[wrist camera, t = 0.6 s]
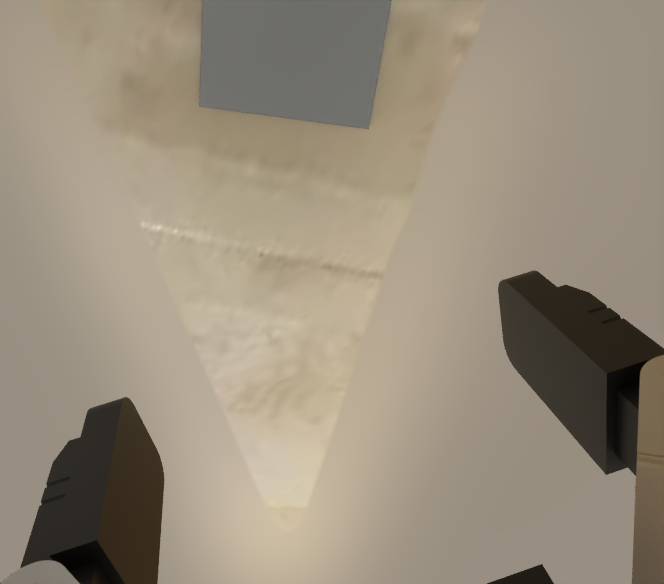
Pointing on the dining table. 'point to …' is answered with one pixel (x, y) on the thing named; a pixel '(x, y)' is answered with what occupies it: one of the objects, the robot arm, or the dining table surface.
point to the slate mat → (293, 58)
